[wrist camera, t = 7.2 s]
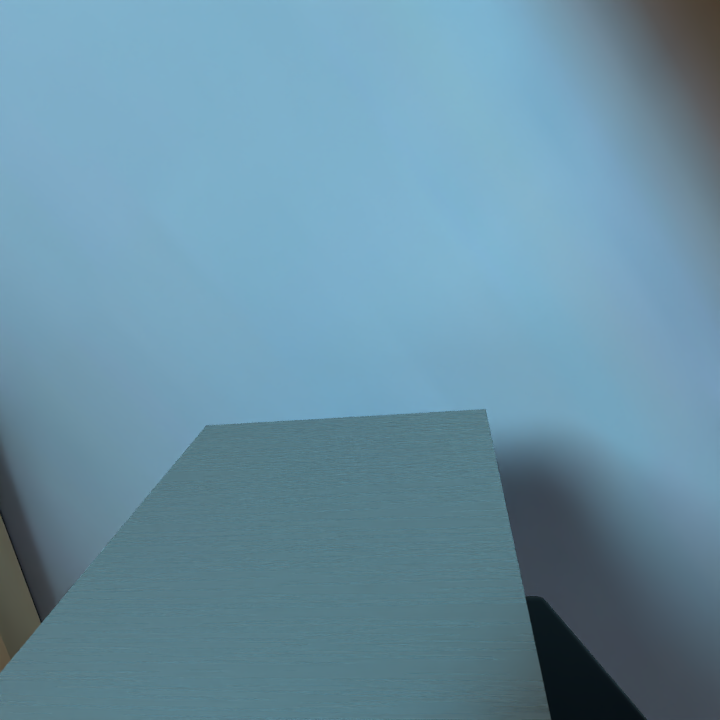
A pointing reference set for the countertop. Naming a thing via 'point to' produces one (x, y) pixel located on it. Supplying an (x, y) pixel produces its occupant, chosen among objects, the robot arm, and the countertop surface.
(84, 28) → the countertop surface
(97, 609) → the block
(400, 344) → the countertop surface
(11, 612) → the board
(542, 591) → the countertop surface
